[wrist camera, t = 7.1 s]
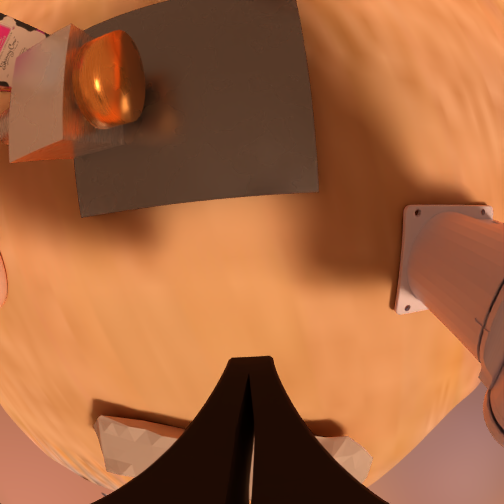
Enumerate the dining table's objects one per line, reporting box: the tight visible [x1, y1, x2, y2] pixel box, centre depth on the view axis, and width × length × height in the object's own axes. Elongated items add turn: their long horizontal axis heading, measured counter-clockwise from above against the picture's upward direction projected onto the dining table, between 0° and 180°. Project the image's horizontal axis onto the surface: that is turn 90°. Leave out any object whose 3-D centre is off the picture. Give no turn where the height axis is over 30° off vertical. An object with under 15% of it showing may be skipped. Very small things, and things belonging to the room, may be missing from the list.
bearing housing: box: [9, 0, 319, 218], centre depth 11 cm, size 15×14×7 cm
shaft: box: [0, 30, 145, 145], centre depth 10 cm, size 9×5×5 cm, turn 95°
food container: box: [93, 415, 373, 500], centre depth 21 cm, size 12×30×6 cm, turn 83°
